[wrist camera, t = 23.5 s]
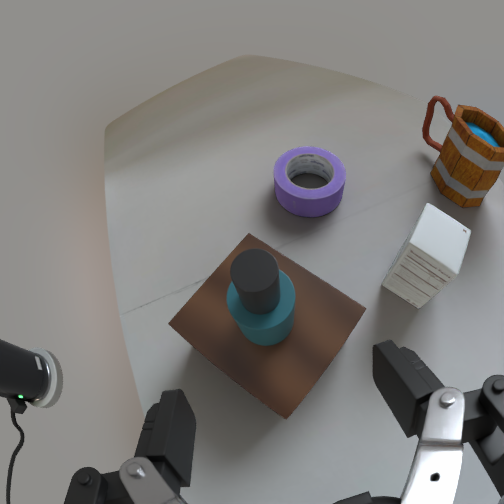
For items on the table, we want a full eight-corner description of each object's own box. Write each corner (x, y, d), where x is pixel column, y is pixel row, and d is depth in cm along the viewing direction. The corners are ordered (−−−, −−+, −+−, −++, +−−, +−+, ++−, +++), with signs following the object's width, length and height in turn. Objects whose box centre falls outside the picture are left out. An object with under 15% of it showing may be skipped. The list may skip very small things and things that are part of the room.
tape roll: (323, 229, 46) (326, 210, 41) (261, 199, 50) (259, 179, 46) (352, 182, 50) (356, 162, 45) (296, 158, 54) (296, 138, 50)
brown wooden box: (286, 414, 33) (286, 419, 25) (194, 342, 39) (167, 323, 31) (348, 330, 38) (366, 308, 29) (256, 269, 44) (248, 232, 35)
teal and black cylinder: (244, 351, 28) (218, 318, 18) (234, 300, 31) (207, 243, 21) (299, 338, 28) (307, 298, 18) (286, 288, 31) (285, 225, 21)
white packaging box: (399, 249, 43) (427, 199, 32) (436, 273, 40) (473, 230, 29) (379, 285, 40) (408, 241, 29) (418, 311, 37) (459, 275, 26)
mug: (493, 194, 45) (523, 145, 32) (463, 219, 44) (499, 164, 31) (433, 135, 55) (450, 83, 42) (397, 150, 53) (414, 91, 40)
